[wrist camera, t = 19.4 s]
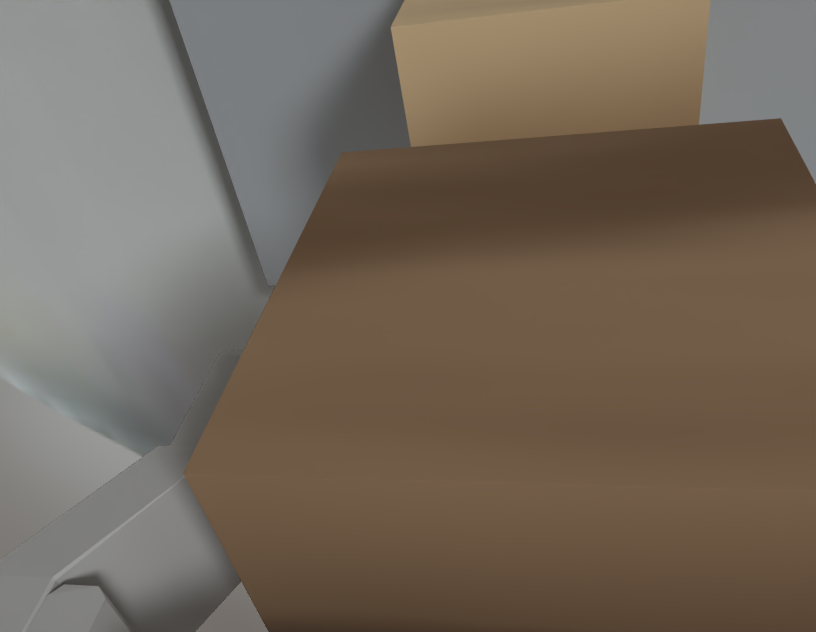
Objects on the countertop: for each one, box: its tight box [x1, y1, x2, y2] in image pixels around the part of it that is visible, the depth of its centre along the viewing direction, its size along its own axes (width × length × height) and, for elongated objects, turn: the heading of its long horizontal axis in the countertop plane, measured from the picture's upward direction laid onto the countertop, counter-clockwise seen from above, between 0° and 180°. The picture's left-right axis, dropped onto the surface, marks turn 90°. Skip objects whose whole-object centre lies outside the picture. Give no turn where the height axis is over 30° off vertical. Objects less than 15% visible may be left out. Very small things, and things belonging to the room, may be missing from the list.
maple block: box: [391, 0, 710, 147], centre depth 15 cm, size 5×5×5 cm
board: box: [169, 0, 816, 286], centre depth 17 cm, size 13×18×1 cm
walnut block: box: [183, 118, 816, 632], centre depth 8 cm, size 5×5×5 cm
